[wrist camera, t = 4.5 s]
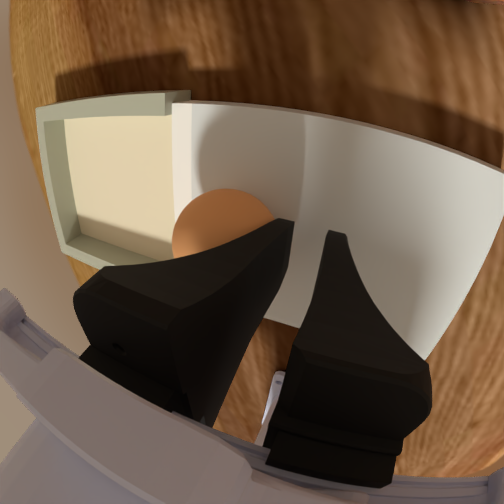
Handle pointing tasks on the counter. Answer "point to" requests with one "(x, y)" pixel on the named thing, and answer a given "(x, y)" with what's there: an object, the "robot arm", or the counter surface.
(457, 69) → the counter surface
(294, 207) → the plate
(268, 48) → the counter surface
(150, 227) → the tray
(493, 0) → the bell
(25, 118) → the counter surface
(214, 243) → the ball
